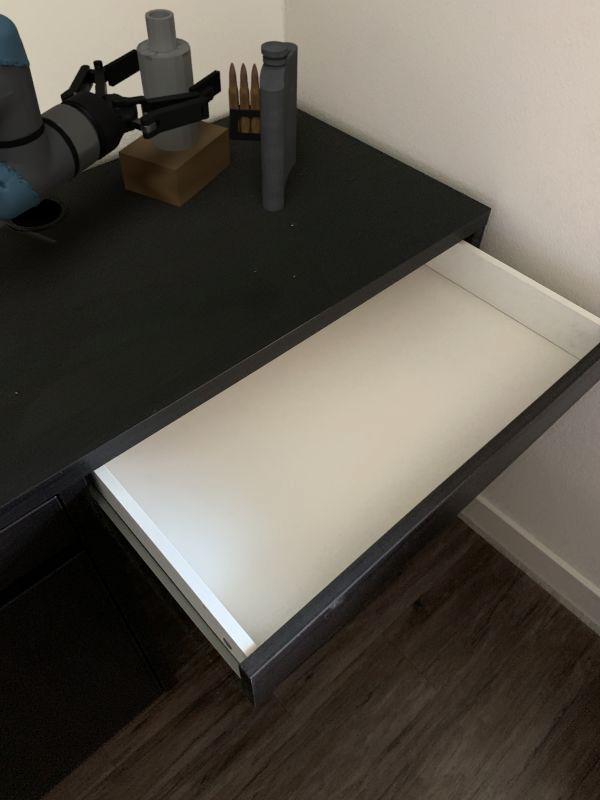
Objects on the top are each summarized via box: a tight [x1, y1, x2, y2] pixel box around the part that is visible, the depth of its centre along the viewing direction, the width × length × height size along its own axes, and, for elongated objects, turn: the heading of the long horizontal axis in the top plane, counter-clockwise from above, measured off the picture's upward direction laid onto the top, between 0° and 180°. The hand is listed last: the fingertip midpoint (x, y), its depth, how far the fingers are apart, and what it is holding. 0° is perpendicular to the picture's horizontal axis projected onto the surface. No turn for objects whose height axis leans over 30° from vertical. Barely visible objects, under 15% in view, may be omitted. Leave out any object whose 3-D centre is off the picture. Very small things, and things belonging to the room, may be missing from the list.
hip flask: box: [259, 40, 299, 213], centre depth 95 cm, size 16×4×20 cm, turn 172°
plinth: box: [117, 120, 231, 208], centre depth 100 cm, size 10×14×6 cm
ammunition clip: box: [228, 62, 261, 142], centre depth 107 cm, size 11×2×12 cm, turn 87°
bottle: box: [135, 8, 199, 151], centre depth 92 cm, size 7×7×17 cm
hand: (177, 69), depth 93 cm, fingers open, 13 cm apart
